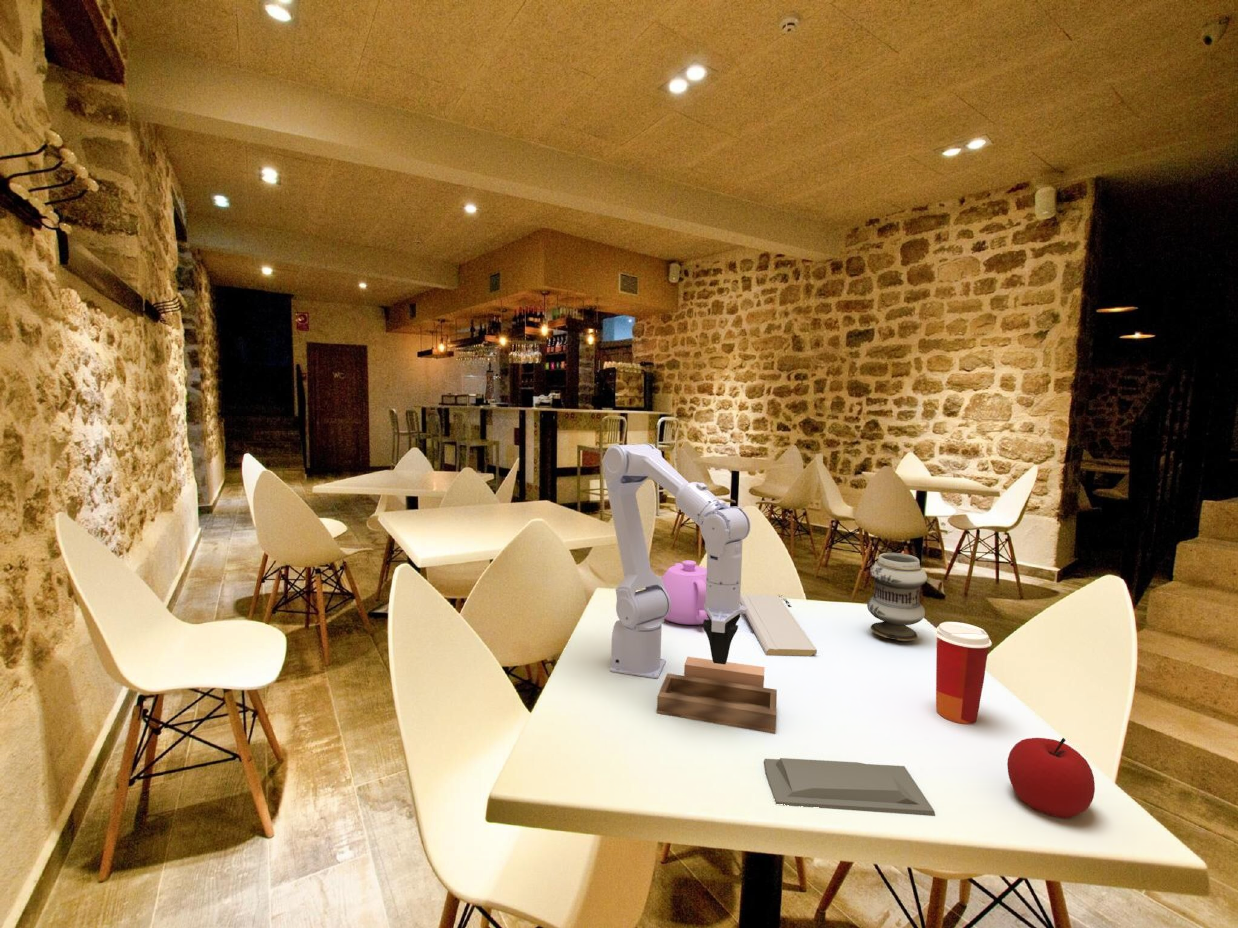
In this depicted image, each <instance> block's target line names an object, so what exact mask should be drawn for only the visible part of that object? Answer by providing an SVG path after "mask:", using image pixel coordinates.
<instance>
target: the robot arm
mask: <svg viewBox="0 0 1238 928" xmlns="http://www.w3.org/2000/svg"><path fill="white" fill-rule="evenodd" d="M601 465H602V469H603V474H604V480H605V483H606V489H607V494H608V495H607V497H608V500H609V506H610V510H611V511H610V512H611V516H612V521H613V526H614V530H615V535H616V536H615V537H616V541H617V545H618V549H619V550H618V551H619V557H620V561H621V565H622V570H623V574H624V575H623V576H624V578H623V579H622V580H621V582H620V583H619V584H618V586H617V587H616V589H615V595H616V605H615V611H616V615H617V618H618V620H616V621H615V622H614V626H613V628H612V634H611V651H610V652H611V653H610V654H611V655H610V657H611V658H610V659H611V662H610V668H609V671H610V672H611V673H617V674H623V675H625V674H626V675H631V676H637V677H643V678H649V679H659V677H660V674H661V672H662V671H663V668H664V666H665V664H666V659H665V658H662V657H661V655H662V630H663V629H662V624H664V623H665V619H664V617H666V616H667V615H668V614H669V612H670V608H671V601H670V598H669V595H668V593H667V591H666V590H665V588H664V584H663V580H662V579H661V578H662V577H660V576H658V575H657V574H656V573H654V572H653V570H652V568H651V561H650V557H649V553H648V547H647V544H646V538H645V534H644V530H643V523H642V518H641V515H640V509H639V504H638V499H637V495H636V493H637V492H638V490H639V489H640V487H641V486H643V485H644V484H645V483H646V482H647V481H648V480H649V479H651V480H653V481H654V482H655V483H656V484H658V485H659V486H660V487H662V488H663V489H664V490H666V491H667V492H668V493H670V494H671V495H672V496H673V497H675V499H676V500H675V503H676V507H677V508H678V509H679V510H681V512H683V513H684V514H685V515H686V516H687V517H688V518H689V519H691V520H692V521H693V522H694V523H695V524H696V525H697V526H698V527H699V529H700V534H701V536H702V538H703V540H704V550H705V552H706V569H707V574H706V602H705V604H704V609H705V611H706V613H707V616H708V618H709V620H705V619H704V621H703V624H702V628H703V630H704V632H705V635H706V637H707V640H708V643H709V647H710V654H711V660H713V663H717V664H726V662H728V658H729V652H730V647H731V644H732V641H733V638H734V636H735V635H736V633H737V632H738V629H739V625H738V624H737V623H738V621H739V620H740V617H741V614H745V613H747V607H746V606H742V605H740V594H741V589H742V588H741V586H742V583H741V582H742V565H743V564H742V563H743V562H742V561H743V540H745V539H746V538H747V537H748V535H749V534H750V531H751V521H750V518H749V516H748V514H747V512H745V511H744V510H743V508H742V507H740V506H729V504H727V502H726V501H725V500H724V499H719V497H717V496H716V495H715V494H713V493H712V492H711V491H710V490H708V485H707V484H706V483H704V482H698V481H691V482H689V481H688V480H686V478H684V476H682V475H681V473H679V472H678V471H677V470H676V468H674V467H673V466H672V465H671V464H670V463H669V462H668V461H667V460H666V459H665V458H664V457H663V454H662V451H661V450H660V449H658V448H656V447H655V445H653V444H651V443H649V442H645V443H642V444H612V445H609V447H607V450H606V451H605V453H604V455H603V458H602V459H601ZM640 589H642V590H640ZM745 615H746V614H745Z"/></svg>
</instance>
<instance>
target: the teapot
mask: <svg viewBox="0 0 1238 928" xmlns="http://www.w3.org/2000/svg"><path fill="white" fill-rule="evenodd" d="M706 574H707V567H705V566H704V567H703V566H702V565H701V566H699V565H697V562H696V561H694V560H689V559H688V560H683V561H682V562H681V563H680V562H676V563H674V564H673V565H672V566H669V568H668V569H667V570H666V571H665V573H664V574H663V575H662V577H660V578H661V579H662V580H663V584H664V588H665V590H666V591H667V593H668V595H669V598H670V601H671V608H670V612H669V614H668V615H667V616H666V617H664V620H666V621H669V622H671V623H675V624H679V625H690V626H691V625H692V626H693V625H694V626H695V625H703V621H704V619H705V620H709V618H708V616H707V613H706V611H705V609H704V604H705V602H706Z"/></svg>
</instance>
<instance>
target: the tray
mask: <svg viewBox="0 0 1238 928" xmlns="http://www.w3.org/2000/svg"><path fill="white" fill-rule="evenodd" d="M777 696H778V689H775V688H770V687H769V688H768V687H764V688H763V687H756V686H749V685H743V684H736V683H729V682H722V681H716V680H709V679H702V678H696V677H689V676H684V675H681V674H675V673H668V672H667V674H666V676H665V678H664V681H663V682H662V684H661V686H660V689H659V692H658V694H657V696H656V697H657V698H656V700H657V701H656V704H657V705H656V714H657V715H658V714H659V715H664V716H669V717H675V718H681V719H687V720H690V721H691V720H692V721H698V722H704V723H710V724H715V725H721V726H727V727H732V728H740V729H745V730H751V731H756V732H763V733H768V734H774V735H776V729H777V728H776V727H777V703H778V701H777Z"/></svg>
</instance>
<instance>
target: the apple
mask: <svg viewBox="0 0 1238 928" xmlns="http://www.w3.org/2000/svg"><path fill="white" fill-rule="evenodd" d="M1065 742H1066V739H1065V737H1062V738H1061V739H1060V741H1059V740H1057V739H1054V738H1053V739H1052V738H1045V737H1029V738H1024V739H1022V740H1020V741H1018V742H1017V743H1015V744H1014V745H1013V747H1012V749H1011V750H1010V752H1009V753H1008V758H1007V766H1006V767H1007V774H1008V778H1009V782H1010V784H1011V787H1012V789H1013V791H1014V792H1015V794H1016V795H1017V797H1019V799H1020V800H1021V801H1022V802H1023V803H1024V804H1026V805H1027V806H1028V807H1029V808H1031V809H1033V810H1035V811H1036V812H1040V813H1042V814H1046V815H1049V816H1051V817H1056V818H1060V819H1071V818H1074V817H1076V816H1078V815H1080V814H1082V813H1084V812H1086V810H1087V809H1089V808H1090V806H1091V804H1092V802H1093V799H1094V797H1095V791H1096V786H1095V783H1096V782H1095V776H1094V773H1093V769H1092V768H1091V766H1090V764H1089V762H1088V761H1087V759H1086V758H1085V757H1084V756H1082V754H1081V753H1080V752H1079V751H1077V750H1076V749H1075V748H1073V747H1072V746H1070V745H1068V744H1067V743H1065Z"/></svg>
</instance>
